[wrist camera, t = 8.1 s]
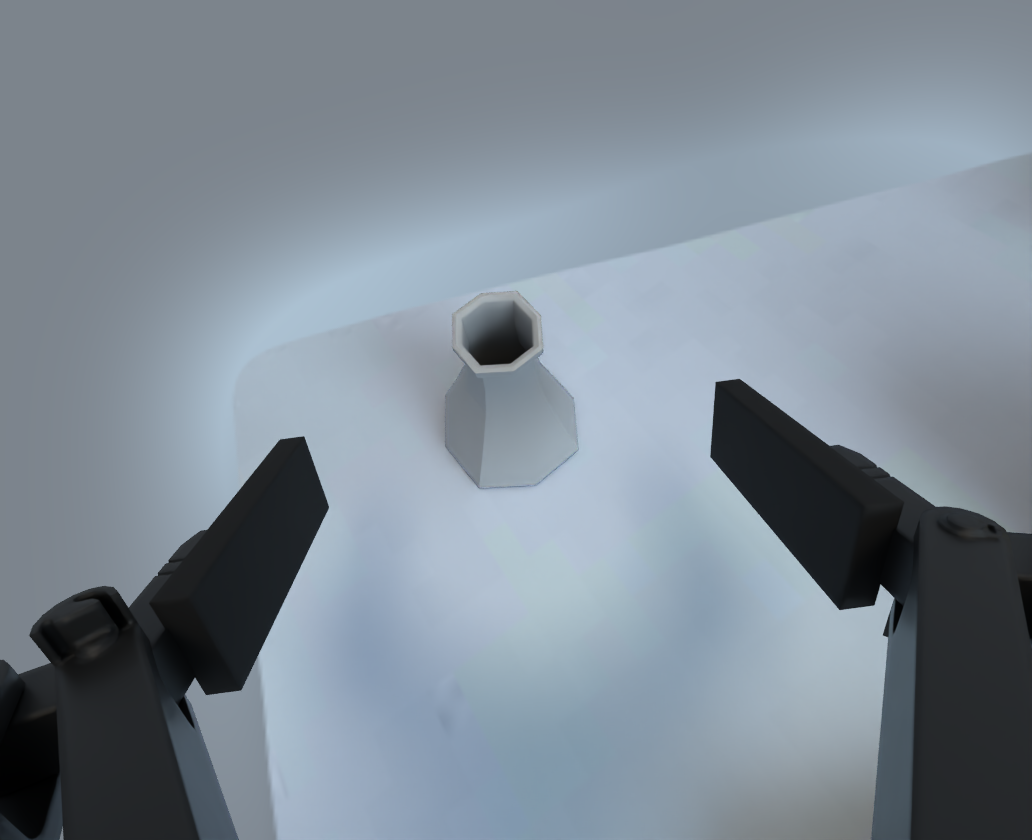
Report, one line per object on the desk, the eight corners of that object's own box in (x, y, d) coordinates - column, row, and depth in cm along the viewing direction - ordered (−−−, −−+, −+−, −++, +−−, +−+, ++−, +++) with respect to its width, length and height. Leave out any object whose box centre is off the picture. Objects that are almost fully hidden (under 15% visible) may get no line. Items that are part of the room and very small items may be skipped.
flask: (547, 344, 27) (555, 215, 18) (601, 460, 25) (642, 385, 15) (425, 388, 26) (365, 280, 17) (469, 512, 24) (427, 467, 15)
